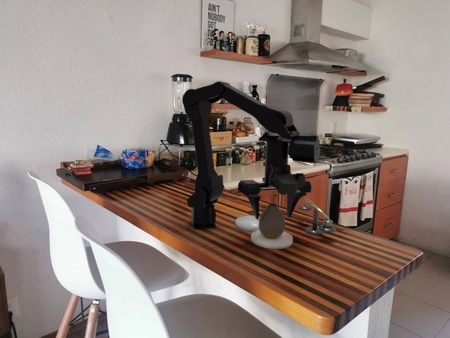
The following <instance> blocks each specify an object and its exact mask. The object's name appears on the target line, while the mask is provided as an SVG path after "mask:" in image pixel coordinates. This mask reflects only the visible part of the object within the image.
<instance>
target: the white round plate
mask: <svg viewBox="0 0 450 338" xmlns="http://www.w3.org/2000/svg"><path fill="white" fill-rule="evenodd" d="M259 218H260V215H259ZM235 226H236V227H237V229H240V230H242V231H247V232H252V233H253V232H254V231H257V230H259V220H257V219H256V218H255V215H244V216H240V217H237V218H236V219H235Z"/></svg>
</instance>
